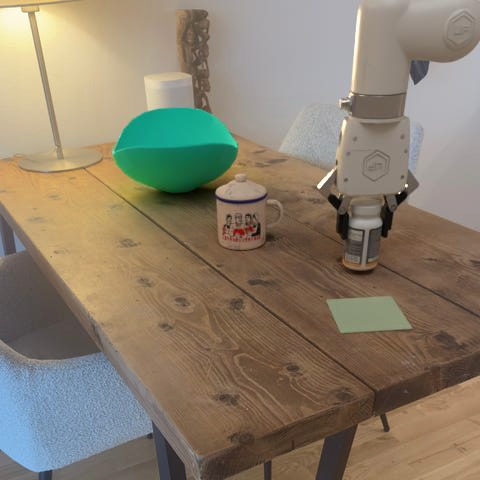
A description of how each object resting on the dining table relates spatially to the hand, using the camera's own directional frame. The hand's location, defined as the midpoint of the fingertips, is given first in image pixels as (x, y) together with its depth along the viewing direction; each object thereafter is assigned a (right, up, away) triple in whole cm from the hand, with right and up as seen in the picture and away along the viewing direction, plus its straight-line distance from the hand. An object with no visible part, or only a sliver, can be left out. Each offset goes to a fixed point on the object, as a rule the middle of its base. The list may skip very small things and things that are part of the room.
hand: (362, 234), depth 89 cm
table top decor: (-33, +24, +41) cm, 58 cm away
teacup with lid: (-18, +3, +14) cm, 23 cm away
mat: (-1, -14, -8) cm, 17 cm away
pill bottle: (0, -4, +3) cm, 5 cm away
